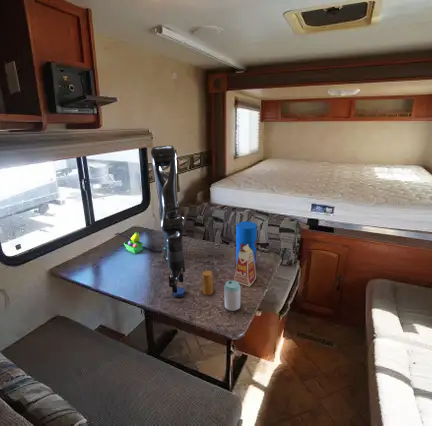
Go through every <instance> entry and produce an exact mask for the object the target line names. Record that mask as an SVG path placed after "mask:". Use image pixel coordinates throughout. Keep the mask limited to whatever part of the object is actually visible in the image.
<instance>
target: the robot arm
mask: <svg viewBox="0 0 432 426" xmlns="http://www.w3.org/2000/svg"><path fill="white" fill-rule="evenodd" d="M150 159H151V164H152V169H153V174H154V181H155V190H156V196H157V204H158V216H159V219H160V221H161V222H160V229H161V231H162V232H163V241H164V242H163V247H161V248H160V249H152V248H149V247H146V246H144V245H143V246H142V249H145V250H149V251H151V252H157V253H158V252H161V251H162V253H163V254H164V257H165V259H166V260H167V266H168V267H167V268H168V269H169V270H171V273H170V274H169V275H168V287H169V288H171V290H172V291H171V292H172V294H173V293H177V287H178V282H179V283H182V284H183V283H184V282H185V281H184V275H185V272H186V267H185V254H184V253H185V252H184V247H183V237H184V231H185V228H186V220H185V218H184V217H183V216H182V215H179V208H180V204H179V198H178V184H177V182H178V175H177V174H178V172H177V169H178V168H177V154H176V150H175V147H174V145H158V146H157V145H156V146H153V147H151V149H150ZM163 167H169V173H166V172H165V171H164V170H163ZM116 233H117V234H116ZM116 233H114V235H115V236H116V235H121V236H125V237H127V238H129V239H131V237H132V236H130V235H127V234H124V233H122V232H116Z"/></svg>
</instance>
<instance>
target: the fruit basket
mask: <svg viewBox="0 0 432 426" xmlns="http://www.w3.org/2000/svg"><path fill="white" fill-rule="evenodd" d="M130 237H131V238H130V240H128V241H125V242H123V245H124V247H125V249H126V250H127V251H129V252H130V253H133V254H134V255H136V254H138V253H141V252H142V251H143V248H142V246H143V247H144V243H143V242H141V237H140V234H139V232H134V234H133V235H132V236H130Z"/></svg>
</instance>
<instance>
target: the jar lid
mask: <svg viewBox="0 0 432 426" xmlns="http://www.w3.org/2000/svg"><path fill="white" fill-rule="evenodd" d="M172 294H173V296H174V297H176V298H182V297H184V296H185V295H186V289H185V288H184V287H182V286H177V293H173V292H172Z"/></svg>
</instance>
